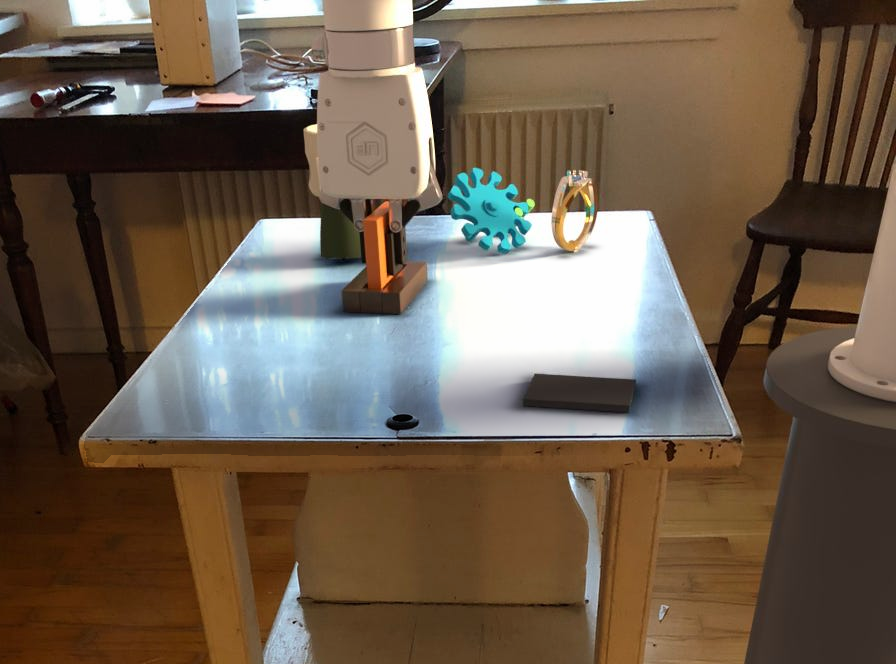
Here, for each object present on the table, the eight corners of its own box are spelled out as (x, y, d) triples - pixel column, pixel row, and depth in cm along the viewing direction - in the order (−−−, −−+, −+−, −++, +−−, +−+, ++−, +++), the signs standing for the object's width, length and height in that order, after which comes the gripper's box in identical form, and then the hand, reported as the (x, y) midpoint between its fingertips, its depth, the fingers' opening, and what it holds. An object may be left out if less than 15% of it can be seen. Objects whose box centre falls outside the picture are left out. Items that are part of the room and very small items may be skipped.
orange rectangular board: (403, 285, 99) (398, 201, 94) (383, 308, 93) (377, 220, 89) (390, 284, 99) (384, 201, 94) (369, 307, 94) (362, 220, 89)
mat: (635, 386, 76) (636, 379, 76) (629, 413, 72) (629, 405, 72) (534, 380, 78) (534, 373, 78) (522, 406, 74) (522, 398, 74)
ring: (582, 241, 108) (585, 162, 103) (605, 246, 106) (610, 166, 101) (540, 256, 104) (543, 175, 100) (564, 261, 103) (567, 179, 98)
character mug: (340, 242, 112) (329, 116, 105) (397, 246, 110) (390, 117, 102) (297, 270, 105) (281, 136, 97) (357, 275, 102) (346, 138, 94)
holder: (427, 281, 99) (426, 261, 98) (400, 314, 92) (399, 293, 91) (373, 279, 101) (372, 259, 100) (343, 311, 93) (341, 290, 92)
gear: (472, 248, 102) (441, 163, 103) (446, 280, 107) (417, 199, 108) (554, 243, 107) (523, 163, 108) (526, 274, 112) (497, 197, 113)
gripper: (270, 60, 83) (296, 280, 94) (448, 56, 79) (453, 286, 90) (301, 48, 88) (323, 257, 100) (468, 44, 85) (471, 262, 96)
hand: (385, 270), depth 95 cm, fingers closed on orange rectangular board, 1 cm apart
